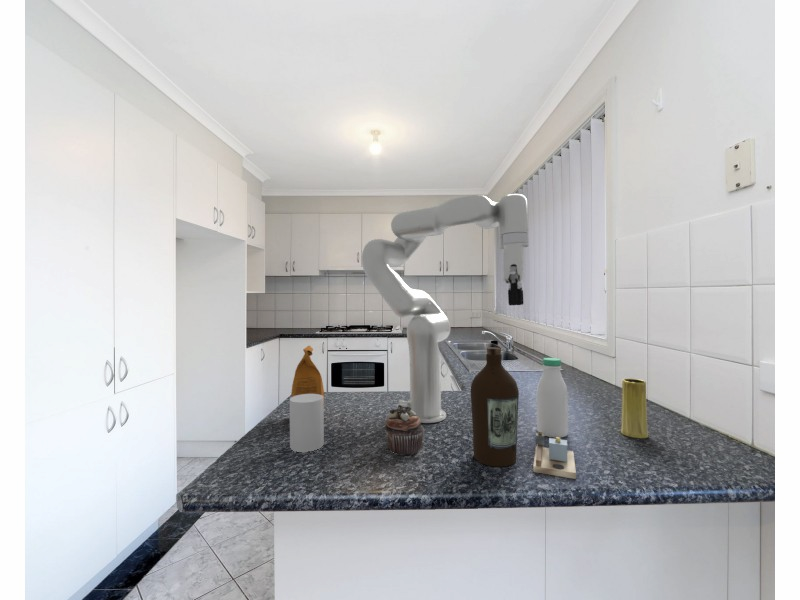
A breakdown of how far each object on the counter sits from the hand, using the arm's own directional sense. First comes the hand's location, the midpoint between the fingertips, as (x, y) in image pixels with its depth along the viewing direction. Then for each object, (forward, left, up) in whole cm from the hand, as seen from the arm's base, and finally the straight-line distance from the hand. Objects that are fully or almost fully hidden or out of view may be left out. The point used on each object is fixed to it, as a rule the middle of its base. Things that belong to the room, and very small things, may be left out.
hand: (516, 304), depth 97 cm
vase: (+29, +10, -35) cm, 46 cm away
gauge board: (+9, -16, -35) cm, 39 cm away
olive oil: (-3, -18, -35) cm, 39 cm away
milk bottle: (+9, +3, -35) cm, 36 cm away
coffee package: (-59, -13, -35) cm, 70 cm away
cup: (-47, -29, -35) cm, 65 cm away
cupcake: (-24, -21, -35) cm, 47 cm away
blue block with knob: (+10, -16, -33) cm, 38 cm away
